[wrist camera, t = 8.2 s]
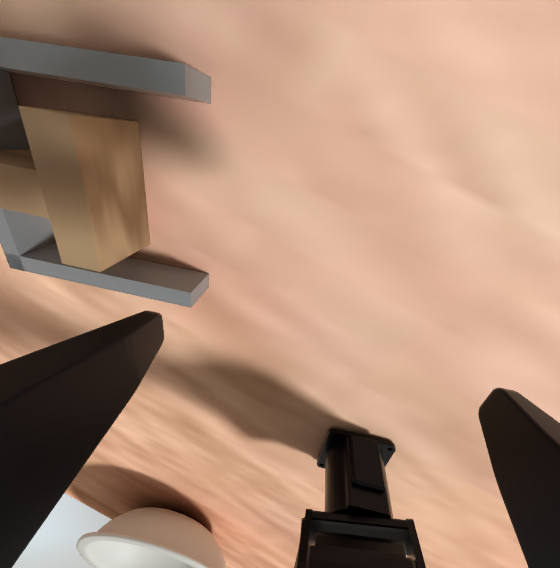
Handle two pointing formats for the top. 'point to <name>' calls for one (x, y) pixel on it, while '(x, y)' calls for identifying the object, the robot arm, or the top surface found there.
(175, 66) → the corral
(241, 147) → the top surface
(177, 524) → the soup bowl
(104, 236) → the wooden t-shaped block
